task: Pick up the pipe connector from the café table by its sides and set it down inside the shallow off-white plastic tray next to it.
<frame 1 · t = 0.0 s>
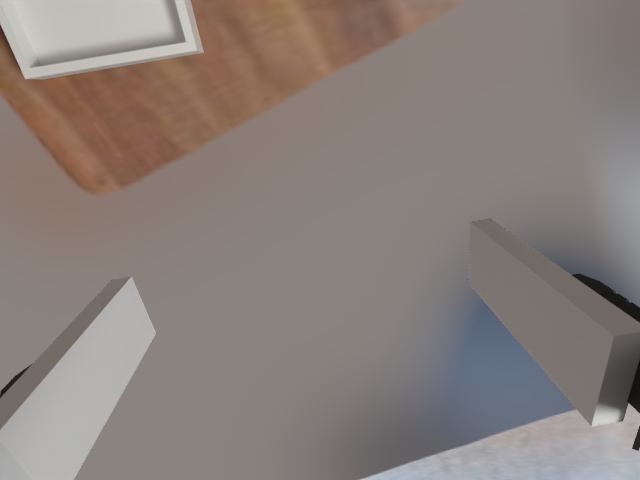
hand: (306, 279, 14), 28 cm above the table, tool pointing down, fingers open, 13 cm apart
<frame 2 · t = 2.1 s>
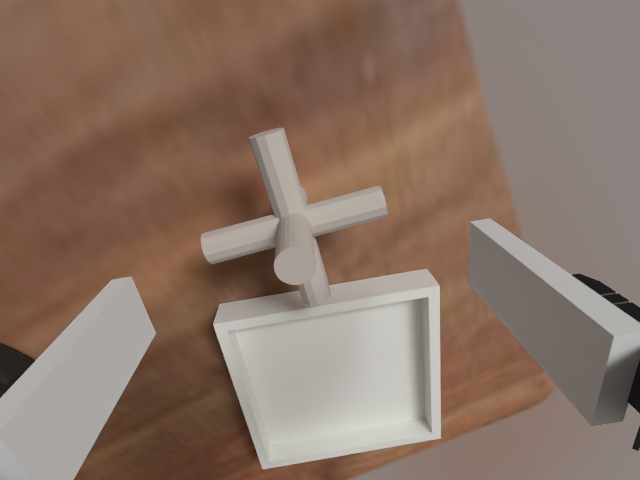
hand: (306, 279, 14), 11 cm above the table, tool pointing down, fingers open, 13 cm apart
tray: (336, 365, 30), on the table
pipe connector: (293, 196, 24), on the table
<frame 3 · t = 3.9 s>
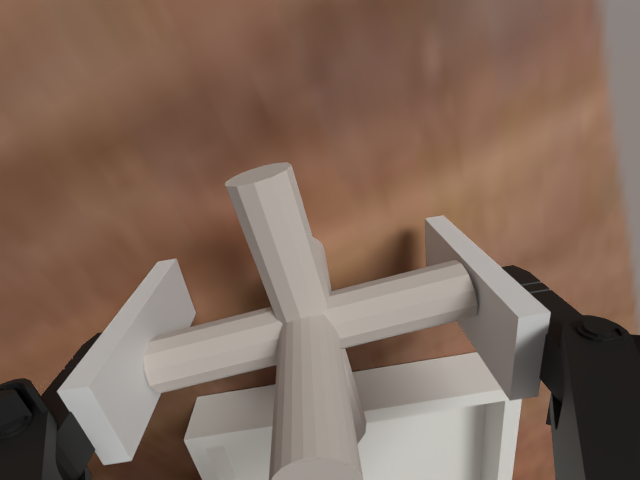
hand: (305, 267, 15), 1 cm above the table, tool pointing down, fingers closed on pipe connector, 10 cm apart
tray: (361, 468, 22), on the table
pipe connector: (304, 252, 16), on the table, touching gripper
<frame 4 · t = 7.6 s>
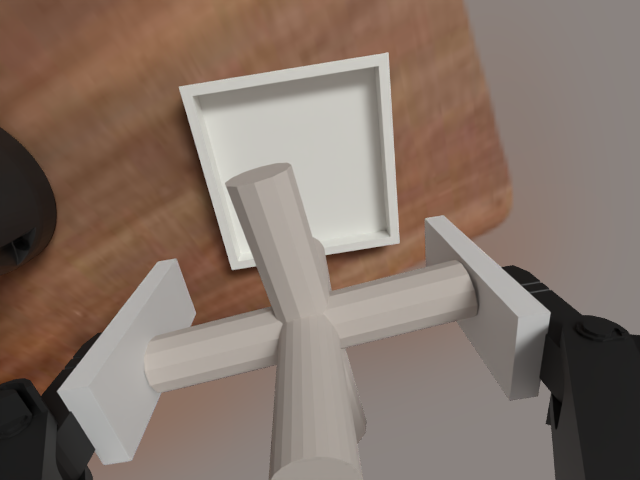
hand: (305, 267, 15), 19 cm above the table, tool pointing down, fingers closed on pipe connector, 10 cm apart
tray: (300, 167, 32), on the table
pipe connector: (304, 252, 16), point 18 cm above the table, touching gripper
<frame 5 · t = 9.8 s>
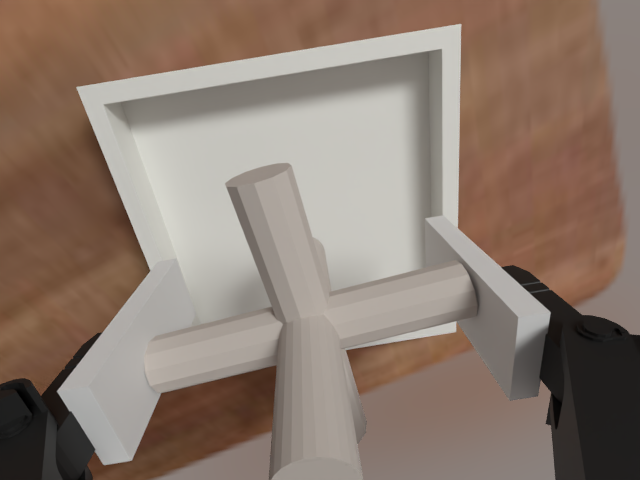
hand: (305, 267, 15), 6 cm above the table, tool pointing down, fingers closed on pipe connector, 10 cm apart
tray: (300, 215, 20), on the table
pipe connector: (304, 252, 16), point 5 cm above the table, touching gripper
when the fingers open (4 cm above the table, at t = 11.3 s): pipe connector drops 2 cm, resting on tray.
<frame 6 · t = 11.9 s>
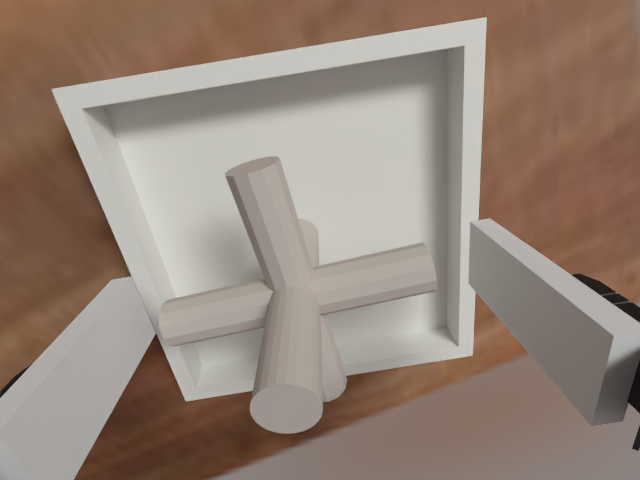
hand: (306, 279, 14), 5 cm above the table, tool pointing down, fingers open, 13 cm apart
tray: (303, 228, 18), on the table
pipe connector: (300, 233, 18), point 1 cm above the table, touching tray
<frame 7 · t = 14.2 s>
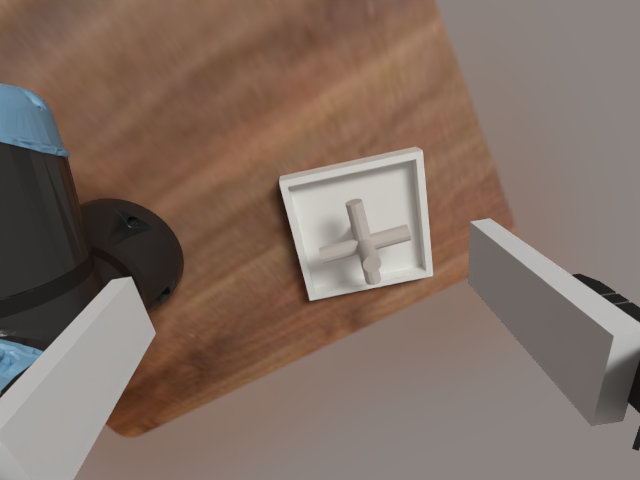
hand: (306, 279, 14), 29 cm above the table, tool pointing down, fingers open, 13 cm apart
tray: (358, 224, 44), on the table
pipe connector: (357, 226, 44), point 1 cm above the table, touching tray
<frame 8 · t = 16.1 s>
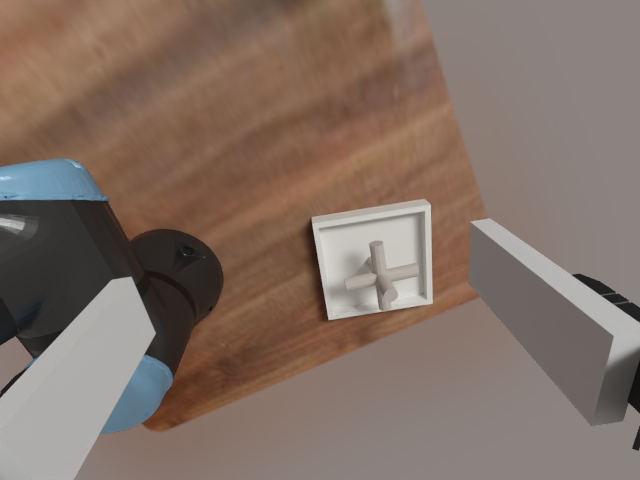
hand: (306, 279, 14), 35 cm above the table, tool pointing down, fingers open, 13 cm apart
tray: (372, 258, 53), on the table
pipe connector: (372, 260, 52), point 1 cm above the table, touching tray
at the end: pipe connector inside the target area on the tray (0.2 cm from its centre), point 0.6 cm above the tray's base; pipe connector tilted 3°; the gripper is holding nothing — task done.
